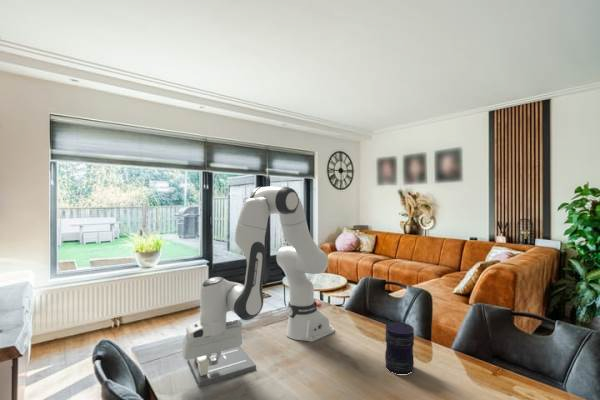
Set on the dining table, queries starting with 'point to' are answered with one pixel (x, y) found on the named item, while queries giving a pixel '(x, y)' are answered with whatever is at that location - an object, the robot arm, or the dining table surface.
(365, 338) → the dining table surface
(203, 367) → the cream fader
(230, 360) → the console
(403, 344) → the storage jar
